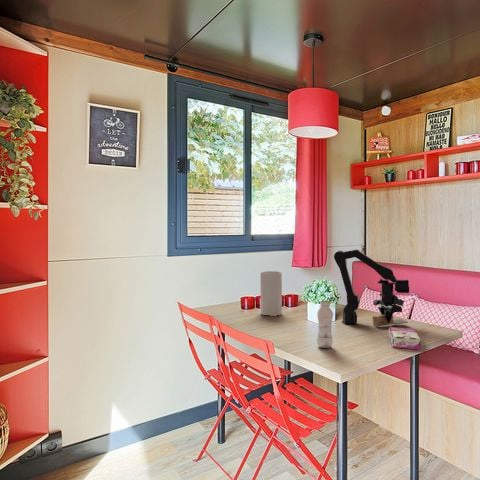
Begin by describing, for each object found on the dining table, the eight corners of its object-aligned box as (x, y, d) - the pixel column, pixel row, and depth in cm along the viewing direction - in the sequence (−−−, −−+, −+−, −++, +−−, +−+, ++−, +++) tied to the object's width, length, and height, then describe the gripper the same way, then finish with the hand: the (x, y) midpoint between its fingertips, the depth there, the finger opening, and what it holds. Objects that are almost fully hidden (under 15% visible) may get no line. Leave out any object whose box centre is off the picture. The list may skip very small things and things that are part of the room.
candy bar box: (388, 337, 176) (391, 347, 160) (388, 326, 176) (392, 336, 160) (414, 339, 173) (420, 350, 157) (414, 328, 172) (420, 338, 157)
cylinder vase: (282, 316, 216) (282, 273, 215) (261, 316, 216) (260, 273, 215) (280, 311, 229) (280, 271, 228) (260, 311, 229) (260, 271, 228)
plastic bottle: (315, 345, 164) (315, 300, 164) (330, 344, 165) (330, 299, 164) (319, 350, 158) (319, 303, 157) (335, 349, 159) (335, 302, 158)
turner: (378, 327, 189) (377, 317, 189) (371, 324, 195) (370, 315, 195) (407, 322, 193) (406, 313, 193) (400, 320, 199) (399, 310, 199)
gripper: (412, 295, 185) (412, 326, 186) (392, 288, 203) (392, 317, 204) (391, 295, 184) (390, 327, 184) (372, 289, 202) (372, 318, 203)
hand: (387, 322), depth 194 cm, fingers closed on turner, 2 cm apart
